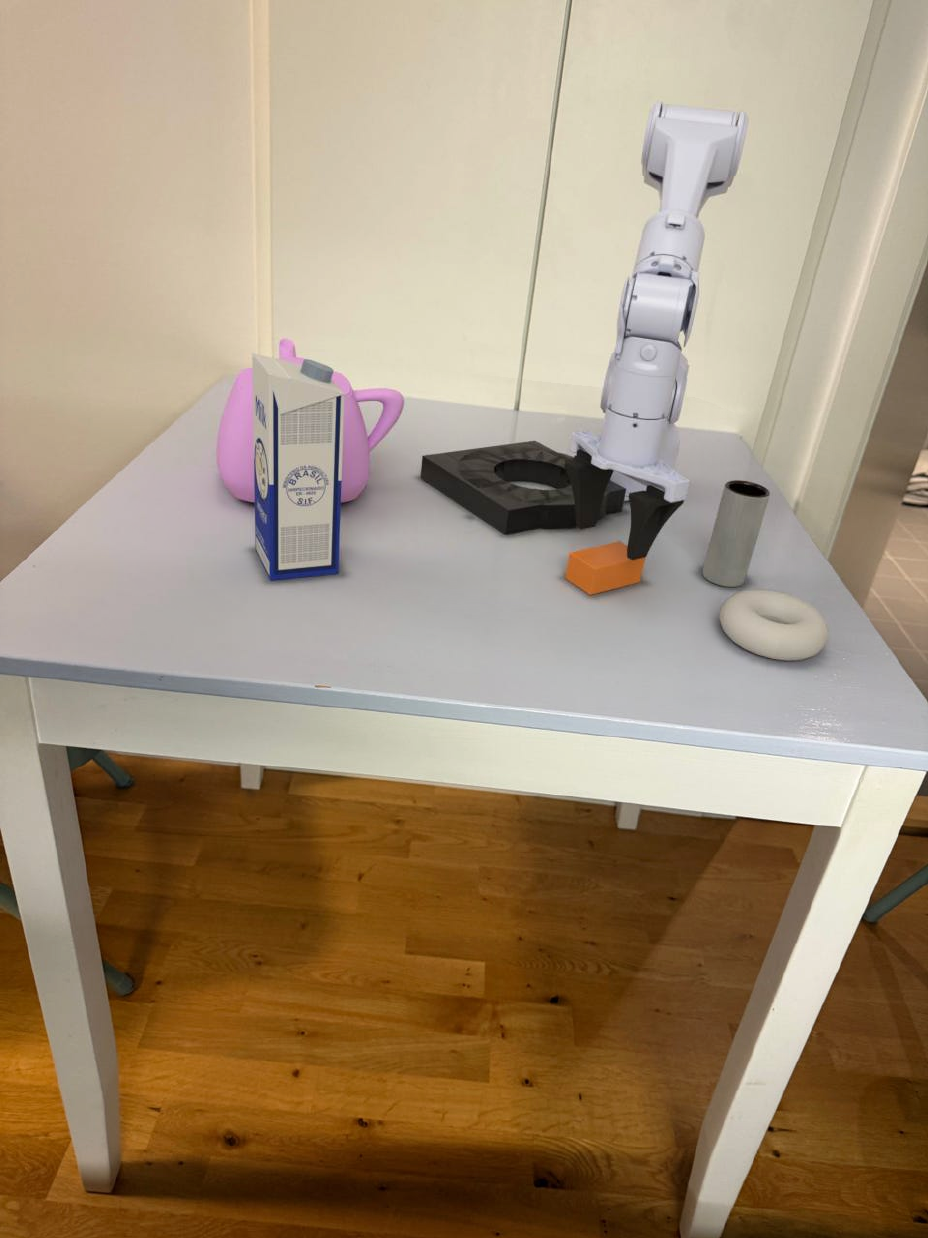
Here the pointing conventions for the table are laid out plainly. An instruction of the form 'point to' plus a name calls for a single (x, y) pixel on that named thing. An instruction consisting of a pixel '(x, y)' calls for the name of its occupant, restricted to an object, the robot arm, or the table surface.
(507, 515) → the square plate with hole
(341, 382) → the teapot
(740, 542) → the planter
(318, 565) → the milk carton
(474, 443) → the table surface
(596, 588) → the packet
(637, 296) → the robot arm
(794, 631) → the donut
